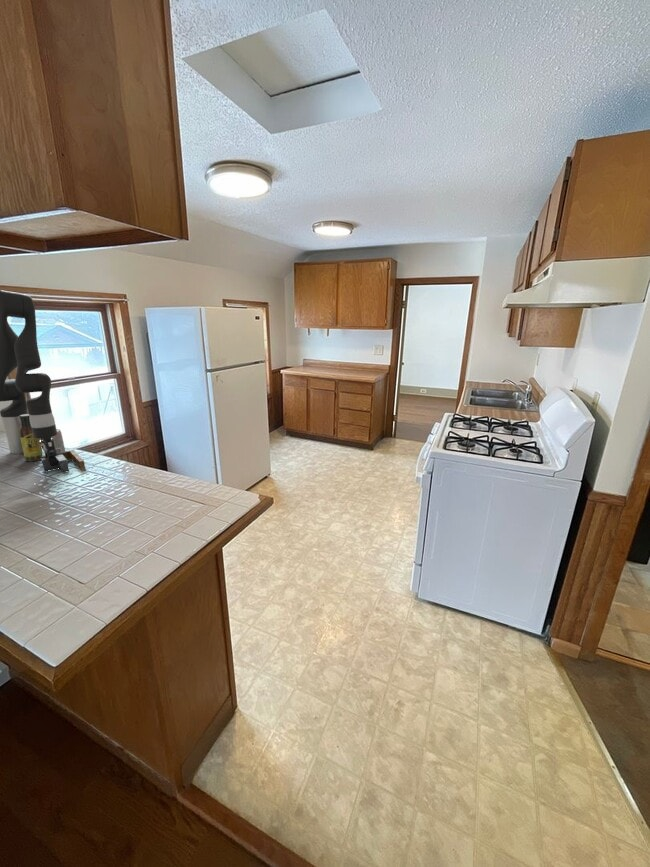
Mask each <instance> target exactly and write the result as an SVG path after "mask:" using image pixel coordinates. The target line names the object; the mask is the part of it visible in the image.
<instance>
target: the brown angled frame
mask: <svg viewBox="0 0 650 867" xmlns="http://www.w3.org/2000/svg"><path fill="white" fill-rule="evenodd" d="M56 454H57V455H63V456H64V457H65V458H66V459H67V462H68V461H72V462H73V463H74V464H75V466H76V467H77V466H78V467H77V468H78V469H79V470H80V471H82V472H83V471H86V465H85V461H84V459H83V458H82V456H80V455H79V454H78V453H77V452H76V451H75V450H74V449H71V450H65V451H64V452H59V453H56ZM42 455H43V454H42ZM42 458H46V456H45V454H44V455H43V456H42Z"/></svg>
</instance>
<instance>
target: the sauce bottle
mask: <svg viewBox="0 0 650 867" xmlns="http://www.w3.org/2000/svg"><path fill="white" fill-rule="evenodd" d="M19 417H20V420H21V425H22V427H21V429H20V438H21V443H22V448H23V452H24V453H23V455H24V456H23V457H24V459H25V461H27V462H33V461H35V462H36V461H39V460H41V459H42V456H43V454H44V453H43V452H44V451H43V449H42V446H41V443H40V441H41V439H40V438H34V437H33V433H32V429H31V424H30V419H29V413H28V414H24V415H20V416H19Z"/></svg>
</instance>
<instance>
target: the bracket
mask: <svg viewBox="0 0 650 867" xmlns="http://www.w3.org/2000/svg"><path fill="white" fill-rule="evenodd" d="M40 460H41V464H42V469H43V471H44V472H45V471H47V472H49V471H48V470H51V471H54V470H53V469H56V470H59V472H60V473H61V472H63V473H67V472H66V471H68V472H70V468H69V465H68V464H69V463H68V461H67V459H66V458H65V457H64V456H63V455H57V456H56V460H57V465H56V466H50V462H49V458H48V457H47V458H42V459H40ZM58 468H59V469H58Z"/></svg>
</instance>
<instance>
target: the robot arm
mask: <svg viewBox="0 0 650 867" xmlns="http://www.w3.org/2000/svg"><path fill="white" fill-rule="evenodd" d="M8 317H9V318H18V319H24V322H25V323H24V327H23V328H22V330H21V332H20V334H19V335H17V333H16V332H15V331H14V329H12V327H11V325H10V323H9V322H8ZM36 318H37V316H36V307H35V303H34V300H33V298H32V297H31V295H29V294H24V293H21V292H20V293H19V292H14V291H8V290H2V289H1V290H0V402H9V401H11V403H10V404H9V405H7V406H6V407H4V408H2V409H0V418H1V421H2V425H3V429H4V433H5V436H6V441H7V444H8V448H9V452H10V454H12V455H20V454H24V452H23V448H22V443H21V438H20V429H21V427H22V425H21V420H20V417H19V416H20V415H24V414H29V419H30V424H31V429H32V433H33V437H34V438H40V443H41V447H42V452H44V455H45V456H46V458H47V457H48V458H49V462H50V466H56V465H57V460H56V456H57V454H56V448H55V445H54V440H53V439H51V437H52V436H55V435H57V426H56V425H57V424H56V421H55V417H54V415H53V410H52V406H51V401H50V400H51V398H50V394H51V387H52V379H51V377H50V376H49V375H48V374H47V373H44V372H37V373H36V372H34V373H28V372H30V371H33V370H37V369H39V368H41V366H42V361H41V356H40V351H39V348H38V338H37V335H38V334H37V321H36V320H37V319H36ZM15 369H17V370H16V373H15V374H16V375H15V378H11V379H10V378H8V377H9V375H11V373H12V372H13V371H14V370H15ZM7 378H8V379H7ZM39 392H40V393H41V394H40V395H39V396H37V397H32V398H29V399H26V398H27V397H26V393H27V394H29V393H39ZM52 452H53V454H52Z"/></svg>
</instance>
